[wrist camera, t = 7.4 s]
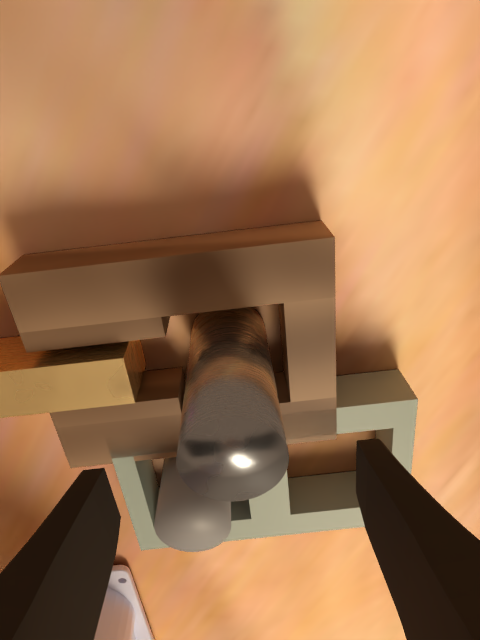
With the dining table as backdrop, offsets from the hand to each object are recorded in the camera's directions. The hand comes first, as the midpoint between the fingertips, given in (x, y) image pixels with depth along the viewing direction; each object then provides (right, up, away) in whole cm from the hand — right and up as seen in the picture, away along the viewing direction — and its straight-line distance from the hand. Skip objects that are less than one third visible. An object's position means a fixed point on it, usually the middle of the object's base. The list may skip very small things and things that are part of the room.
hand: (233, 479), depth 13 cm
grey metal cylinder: (0, +4, +8) cm, 9 cm away
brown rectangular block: (-8, +3, +8) cm, 12 cm away
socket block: (-2, +4, +8) cm, 9 cm away
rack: (+1, -2, +11) cm, 11 cm away
